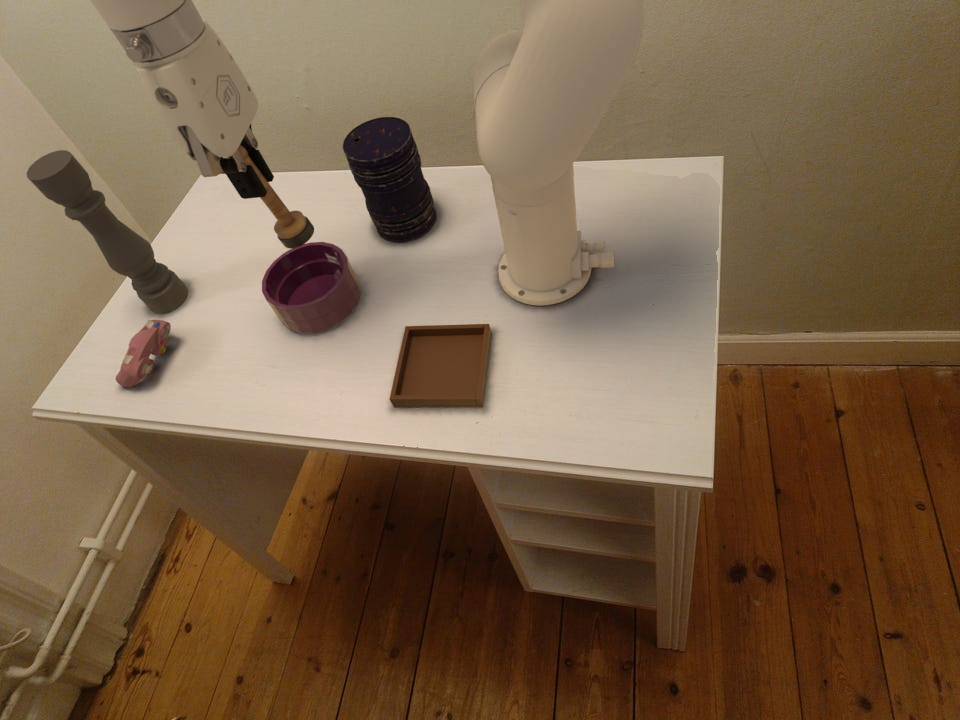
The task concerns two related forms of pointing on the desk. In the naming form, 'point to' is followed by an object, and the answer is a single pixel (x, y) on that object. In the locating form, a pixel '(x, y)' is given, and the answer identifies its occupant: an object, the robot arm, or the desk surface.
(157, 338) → the pink toy
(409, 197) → the storage jar
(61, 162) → the candle holder
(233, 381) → the desk surface
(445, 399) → the tray
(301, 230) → the brush
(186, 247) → the desk surface
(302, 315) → the bowl
